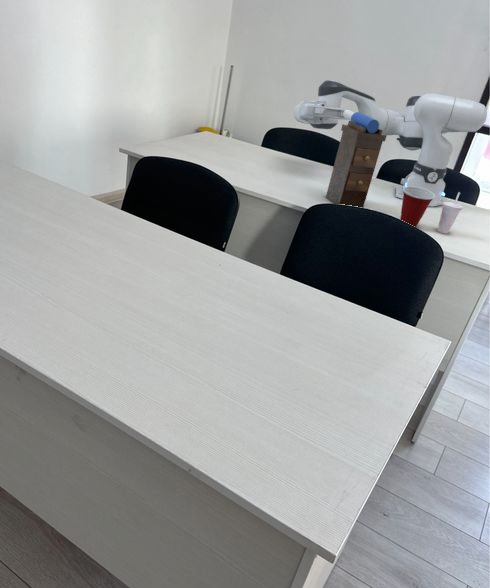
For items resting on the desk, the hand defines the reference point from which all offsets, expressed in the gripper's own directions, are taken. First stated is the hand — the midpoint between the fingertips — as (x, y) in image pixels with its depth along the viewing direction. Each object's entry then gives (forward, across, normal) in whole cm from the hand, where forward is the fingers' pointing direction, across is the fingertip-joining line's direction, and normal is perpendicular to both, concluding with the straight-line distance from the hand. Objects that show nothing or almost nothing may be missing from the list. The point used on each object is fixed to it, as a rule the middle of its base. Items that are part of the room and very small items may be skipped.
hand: (335, 112), depth 219 cm
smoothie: (+43, -25, -36) cm, 62 cm away
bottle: (+18, 0, -5) cm, 19 cm away
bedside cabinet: (+18, 0, -31) cm, 36 cm away
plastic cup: (+38, -14, -35) cm, 54 cm away
